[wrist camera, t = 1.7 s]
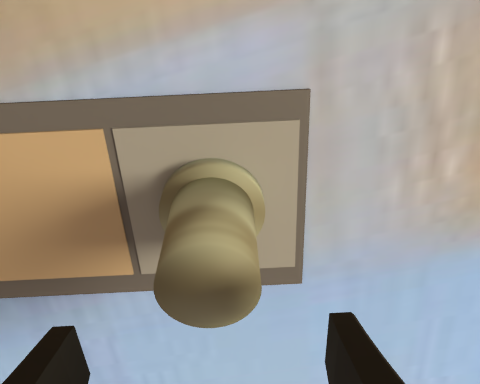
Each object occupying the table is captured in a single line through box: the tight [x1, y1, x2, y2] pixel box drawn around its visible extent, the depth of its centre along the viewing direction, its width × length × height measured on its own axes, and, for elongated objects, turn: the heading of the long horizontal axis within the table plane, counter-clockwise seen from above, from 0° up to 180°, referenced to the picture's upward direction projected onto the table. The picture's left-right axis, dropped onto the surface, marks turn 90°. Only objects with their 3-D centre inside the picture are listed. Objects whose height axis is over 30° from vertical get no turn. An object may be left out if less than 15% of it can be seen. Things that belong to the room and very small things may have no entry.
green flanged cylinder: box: [153, 158, 265, 328], centre depth 16 cm, size 5×5×6 cm
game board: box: [0, 89, 310, 298], centre depth 19 cm, size 10×24×1 cm, turn 92°
